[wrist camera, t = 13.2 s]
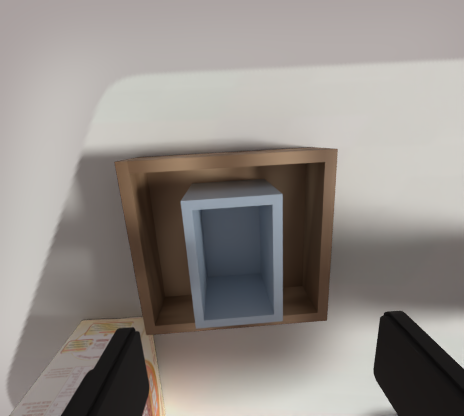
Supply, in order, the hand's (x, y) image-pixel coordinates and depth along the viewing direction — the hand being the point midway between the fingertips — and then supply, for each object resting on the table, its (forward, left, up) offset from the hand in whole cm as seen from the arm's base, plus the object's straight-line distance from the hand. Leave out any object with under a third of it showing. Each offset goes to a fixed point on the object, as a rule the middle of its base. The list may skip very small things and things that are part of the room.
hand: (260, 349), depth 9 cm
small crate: (+1, 0, -12) cm, 12 cm away
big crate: (+1, 0, -13) cm, 13 cm away
